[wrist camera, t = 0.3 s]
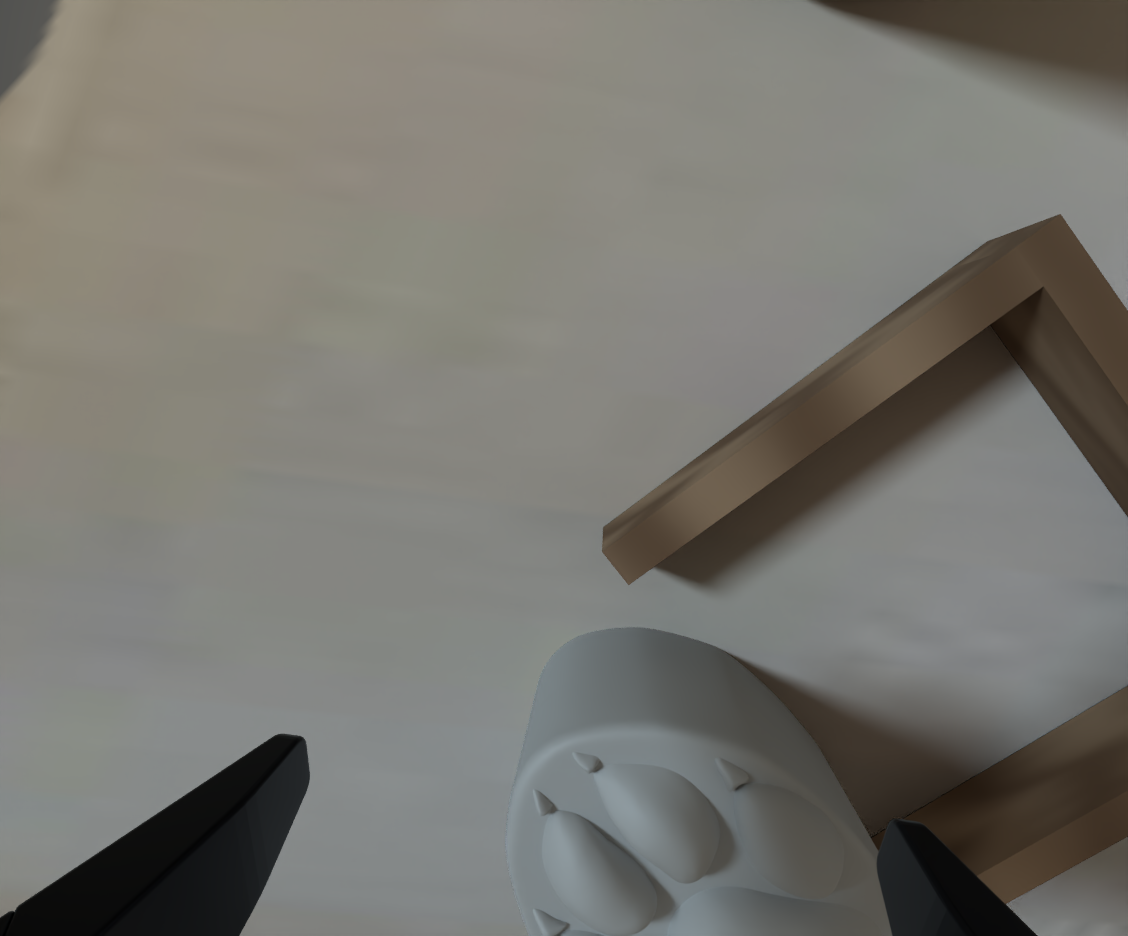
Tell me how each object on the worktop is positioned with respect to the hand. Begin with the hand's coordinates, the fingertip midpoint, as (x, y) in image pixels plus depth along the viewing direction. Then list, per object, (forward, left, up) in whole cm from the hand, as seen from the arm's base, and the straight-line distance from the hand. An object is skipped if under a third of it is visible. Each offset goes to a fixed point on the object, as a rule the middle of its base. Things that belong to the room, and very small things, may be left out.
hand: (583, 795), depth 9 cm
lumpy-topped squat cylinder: (-4, -9, -15) cm, 18 cm away
